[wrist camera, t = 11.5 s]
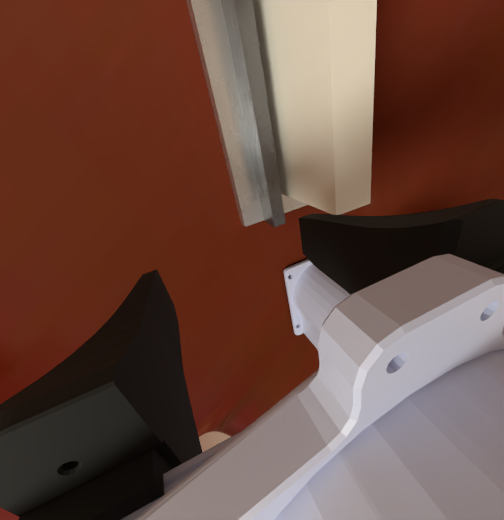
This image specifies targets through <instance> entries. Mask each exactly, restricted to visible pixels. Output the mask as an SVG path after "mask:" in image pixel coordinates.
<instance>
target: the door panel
mask: <svg viewBox="0 0 504 520" xmlns="http://www.w3.org/2000/svg"><path fill="white" fill-rule="evenodd" d="M253 2H254V9H255V16H256V22H257V29H258V36H259V43H260V49H261V56H262V63H263V70H264V76H265V83H266V90H267V96H268V103H269V110H270V117H271V123H272V130H273V137H274V144H275V150H276V157H277V164H278V170H279V177H280V184H281V191H282V194H283V195H285V196H288V197H290V198H293V199H295V200H298V201H300V202H303V203H305V204H308V205H310V206H313V207H315V208H318V209H320V210H323V211H325V212H328V213H330V214H333V215H340V214H343V213H346V212H348V211H351V210H354V209H356V208H359V207H362V206H364V205H367V204H370V194H371V164H372V134H373V104H374V74H375V44H376V14H377V0H253Z"/></svg>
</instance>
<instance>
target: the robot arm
mask: <svg viewBox="0 0 504 520" xmlns="http://www.w3.org/2000/svg"><path fill="white" fill-rule="evenodd" d="M299 224H300V232H301V241H302V249H303V254H304V255H305V256H306V257H307V258H308V259H307V260H305V261H302V262H300V263H297V264H295V265H292V266H290V267H288V268H286V269H285V270H284V277H285V283H286V289H287V295H288V300H289V306H290V312H291V318H292V324H293V329H294V333H295V334H296V335H300V334H302V333H304V334H305V335H306V336H307V337H308V338H309V340H310V341H311V342H312V343H313V345H314V346H315V347H316V348H317V349H318V352H319V361H320V365H319V369H318V370H317V371H316V372H314V373H313V374H312V375H311V376H309V377H308V378H307V379H306V380H305V381H303V382H302V383H301V384H300V385H298V386H297V387H296V388H295V389H294V390H292V391H291V392H290V393H289V394H287V395H286V396H285V397H284V398H283V399H281V400H280V401H279V402H278V403H276V404H275V405H274V406H273V407H272V408H270V409H269V410H268V411H267V412H265V413H264V414H263V415H262V416H261V417H259V418H258V419H257V420H256V421H254V422H253V423H252V424H251V425H250V426H248V427H247V428H246V429H245V430H243V431H241V432H239V433H238V434H236V435H234V436H232V437H230V438H228V439H227V440H225V441H223V442H221V443H219V444H217V445H216V446H214V447H212V448H210V449H208V450H207V451H205V452H203V453H202V449H201V445H200V441H199V437H198V433H197V429H196V425H195V421H194V417H193V412H192V408H191V404H190V399H189V395H188V391H187V386H186V381H185V377H184V372H183V365H182V356H181V345H180V335H179V325H178V319H177V315H176V311H175V308H174V304H173V302H172V300H171V298H170V296H169V294H168V292H167V290H166V287H165V285H164V283H163V281H162V279H161V277H160V275H159V273H158V271H157V270H154V271H151V272H149V273H146V274H143V275H142V276H141V278H140V279H139V280H138V282H137V283H136V285H135V286H134V288H133V289H132V291H131V292H130V293H129V295H128V296H127V298H126V299H125V300H124V302H123V303H122V304H121V305H120V307H119V308H118V309H117V311H116V312H115V313H114V314H113V316H112V317H111V318H110V319H109V320H108V321H107V322H106V323H105V324H104V325H103V326H102V327H101V328H100V329H99V330H98V332H96V333H95V334H94V335H93V336H92V337H91V338H90V339H89V340H88V341H87V342H85V343H84V344H83V345H82V346H81V347H80V348H79V349H78V350H76V351H75V352H74V353H73V354H72V355H70V356H69V357H68V358H67V359H65V360H64V361H63V362H61V363H60V364H59V365H58V366H56V367H55V368H53V369H52V370H51V371H49V372H48V373H47V374H45V375H44V376H43V377H41V378H40V379H38V380H37V381H35V382H34V383H32V384H31V385H29V386H28V387H26V388H25V389H23V390H22V391H20V392H19V393H17V394H16V395H14V396H13V397H11V398H10V399H8V400H6V401H5V402H3V403H2V404H0V507H1V508H3V509H5V510H7V511H9V512H11V513H13V514H15V515H17V516H19V517H20V518H19V520H504V200H499V199H489V200H483V201H479V202H475V203H470V204H466V205H462V206H457V207H453V208H447V209H442V210H436V211H430V212H423V213H415V214H406V215H394V216H348V215H332V214H309V215H307V216H304V217H301V218H299ZM289 275H291V276H290V277H289ZM288 277H289V278H288Z"/></svg>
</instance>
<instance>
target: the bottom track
mask: <svg viewBox="0 0 504 520" xmlns="http://www.w3.org/2000/svg"><path fill="white" fill-rule="evenodd" d="M186 2H187V6H188V10H189V14H190V18H191V22H192V26H193V30H194V34H195V38H196V42H197V46H198V50H199V54H200V58H201V62H202V66H203V70H204V75H205V79H206V83H207V87H208V91H209V95H210V99H211V103H212V107H213V111H214V115H215V119H216V123H217V127H218V131H219V135H220V139H221V143H222V147H223V151H224V155H225V159H226V164H227V168H228V172H229V176H230V180H231V184H232V188H233V192H234V196H235V200H236V204H237V208H238V212H239V216H240V220H241V224H243V225H244V226H245V227H246V226H249V225H251V224H254V223H257V222H260V221H263V220H265V221H266V222H268V223H269V224H271V225H272V226H274V227H276V226H279V225H281V224H284V223H286V222H285V215H284V213H286V212H289V211H291V210H294V209H297V208H300V207H303V206H306V205H308V204H305V203H303V202H300V201H298V200H295V199H293V198H290V197H288V196H285V195H283V194H282V191H281V184H280V177H279V170H278V164H277V157H276V150H275V144H274V137H273V130H272V123H271V117H270V110H269V103H268V96H267V90H266V83H265V76H264V70H263V63H262V56H261V49H260V43H259V36H258V29H257V22H256V16H255V9H254V2H253V0H186Z"/></svg>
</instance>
